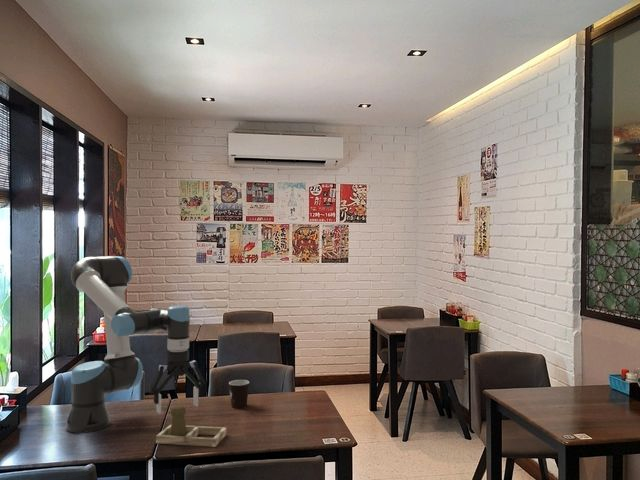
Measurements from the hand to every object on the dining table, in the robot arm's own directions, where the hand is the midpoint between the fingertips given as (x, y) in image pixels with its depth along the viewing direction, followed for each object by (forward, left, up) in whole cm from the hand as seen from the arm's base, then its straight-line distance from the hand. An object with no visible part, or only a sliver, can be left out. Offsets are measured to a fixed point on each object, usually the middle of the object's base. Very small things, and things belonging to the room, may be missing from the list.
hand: (177, 409), depth 185 cm
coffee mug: (+10, +39, -10) cm, 42 cm away
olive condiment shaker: (0, 0, -10) cm, 10 cm away
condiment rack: (+5, 0, -10) cm, 12 cm away
